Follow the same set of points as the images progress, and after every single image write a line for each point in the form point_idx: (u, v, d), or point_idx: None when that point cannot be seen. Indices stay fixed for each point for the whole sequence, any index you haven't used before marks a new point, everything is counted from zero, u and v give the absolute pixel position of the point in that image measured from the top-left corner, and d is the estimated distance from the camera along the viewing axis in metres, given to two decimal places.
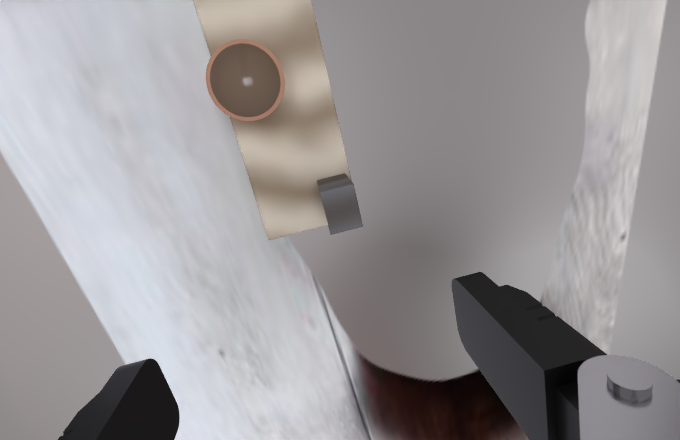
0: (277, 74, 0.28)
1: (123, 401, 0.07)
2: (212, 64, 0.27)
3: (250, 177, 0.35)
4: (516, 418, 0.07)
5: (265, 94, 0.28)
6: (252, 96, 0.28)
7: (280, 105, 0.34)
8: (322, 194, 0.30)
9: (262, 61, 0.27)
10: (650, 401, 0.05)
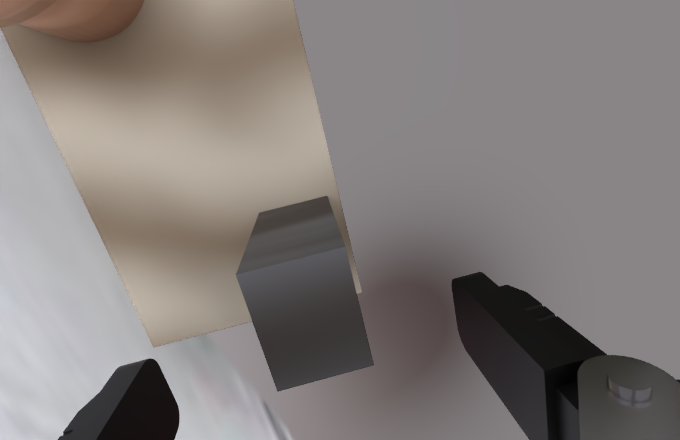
0: None
1: (123, 401, 0.07)
2: None
3: (90, 207, 0.14)
4: (515, 417, 0.07)
5: None
6: None
7: (150, 17, 0.12)
8: (244, 280, 0.09)
9: None
10: (650, 401, 0.05)
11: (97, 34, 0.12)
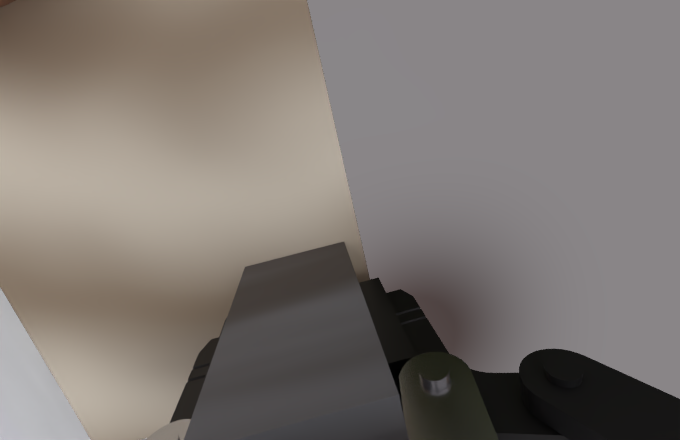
0: None
1: None
2: None
3: None
4: None
5: None
6: None
7: None
8: None
9: None
10: (441, 389, 0.06)
11: None
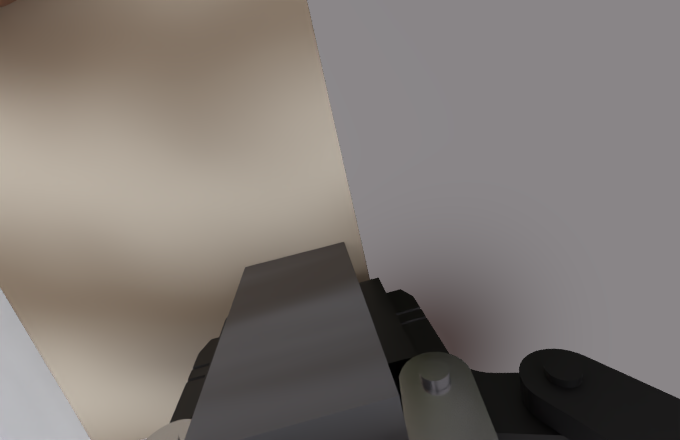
0: None
1: None
2: None
3: None
4: None
5: None
6: None
7: None
8: None
9: None
10: (441, 389, 0.06)
11: None
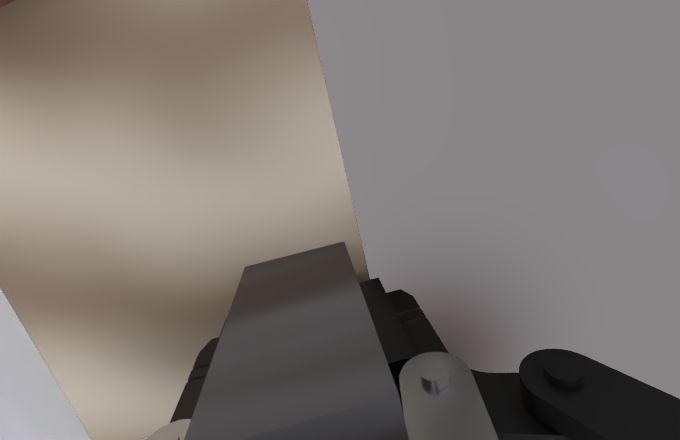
0: None
1: None
2: None
3: None
4: None
5: None
6: None
7: None
8: None
9: None
10: (441, 390, 0.06)
11: None
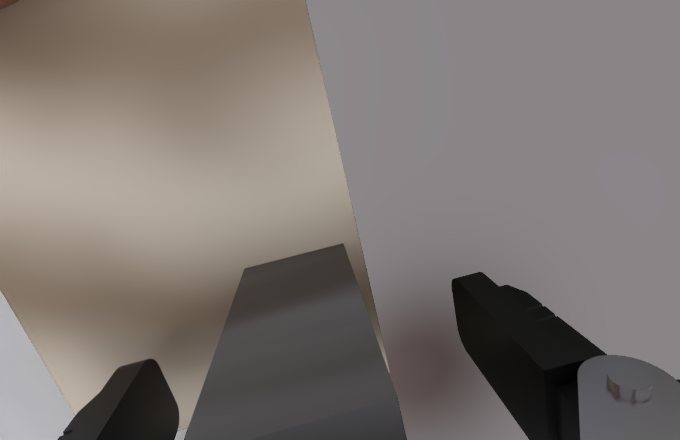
0: None
1: (123, 401, 0.07)
2: None
3: None
4: (516, 418, 0.07)
5: None
6: None
7: None
8: None
9: None
10: (650, 401, 0.05)
11: None
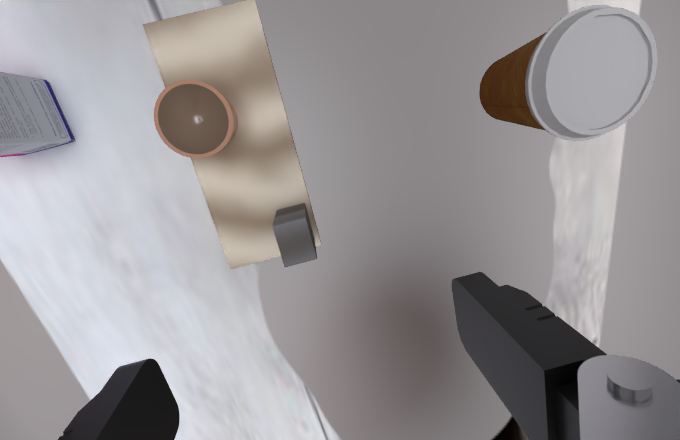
0: (225, 112, 0.28)
1: (123, 401, 0.07)
2: (160, 104, 0.28)
3: (210, 208, 0.36)
4: (516, 418, 0.07)
5: (214, 131, 0.28)
6: (201, 134, 0.28)
7: (237, 138, 0.34)
8: (274, 228, 0.31)
9: (209, 101, 0.28)
10: (649, 401, 0.05)
11: None
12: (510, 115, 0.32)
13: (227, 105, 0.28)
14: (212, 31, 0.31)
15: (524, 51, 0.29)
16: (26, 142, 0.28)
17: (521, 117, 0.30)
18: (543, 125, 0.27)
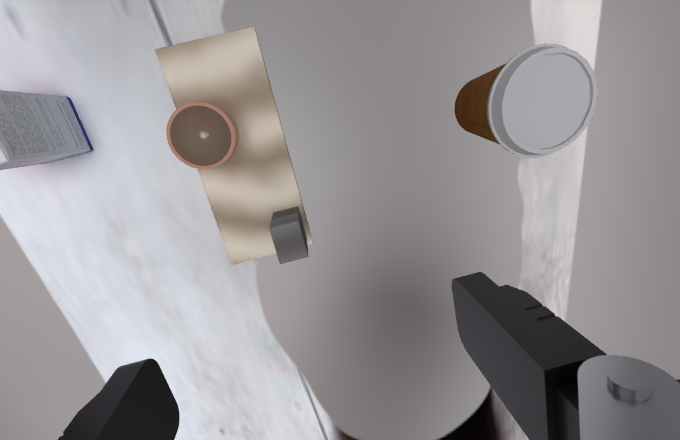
0: (228, 130, 0.32)
1: (123, 401, 0.07)
2: (172, 123, 0.32)
3: (213, 210, 0.40)
4: (516, 418, 0.07)
5: (218, 146, 0.33)
6: (207, 148, 0.33)
7: (238, 149, 0.38)
8: (271, 230, 0.35)
9: (215, 120, 0.32)
10: (650, 401, 0.05)
11: None
12: (478, 132, 0.37)
13: (230, 124, 0.32)
14: (217, 55, 0.35)
15: (488, 78, 0.33)
16: (55, 154, 0.32)
17: (486, 135, 0.35)
18: (502, 144, 0.32)
